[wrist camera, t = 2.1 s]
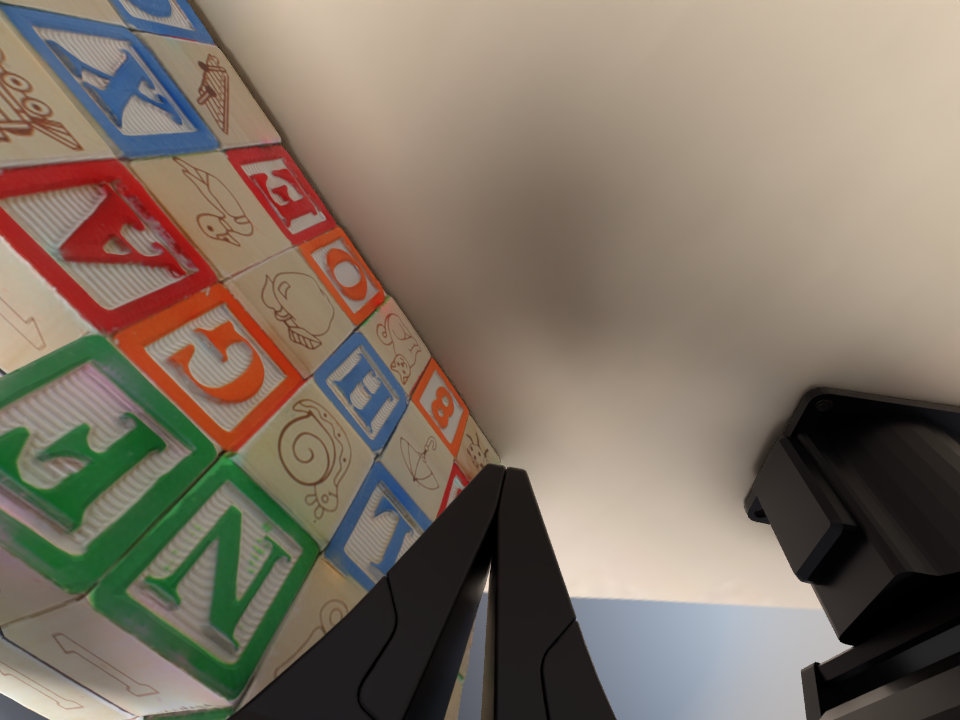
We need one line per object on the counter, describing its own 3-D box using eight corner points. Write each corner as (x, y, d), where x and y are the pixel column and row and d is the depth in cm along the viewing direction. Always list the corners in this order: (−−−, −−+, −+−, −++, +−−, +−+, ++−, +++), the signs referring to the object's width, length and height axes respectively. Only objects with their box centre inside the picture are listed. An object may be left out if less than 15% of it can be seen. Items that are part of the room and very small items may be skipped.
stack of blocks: (44, 68, 14) (-1369, -65, 4) (145, -71, 12) (-2774, -1384, 2) (400, 495, 22) (250, 844, 11) (506, 462, 20) (439, 862, 9)
